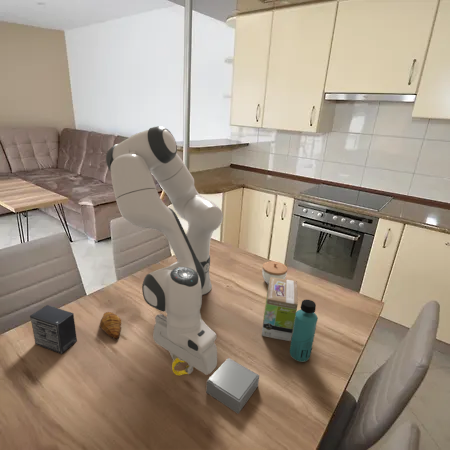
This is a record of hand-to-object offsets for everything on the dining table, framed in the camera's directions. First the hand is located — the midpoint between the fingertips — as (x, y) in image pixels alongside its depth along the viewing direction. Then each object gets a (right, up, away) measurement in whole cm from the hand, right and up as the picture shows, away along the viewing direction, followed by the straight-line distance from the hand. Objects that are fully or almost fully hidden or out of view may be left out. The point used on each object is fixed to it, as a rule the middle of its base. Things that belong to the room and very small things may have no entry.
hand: (183, 367), depth 85 cm
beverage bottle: (+34, -1, +9) cm, 35 cm away
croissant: (-26, +5, +16) cm, 31 cm away
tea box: (+30, +4, +23) cm, 38 cm away
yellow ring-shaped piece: (0, -2, +1) cm, 2 cm away
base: (+14, -4, -3) cm, 15 cm away
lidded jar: (+33, +14, +50) cm, 61 cm away
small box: (-40, +4, +9) cm, 41 cm away
